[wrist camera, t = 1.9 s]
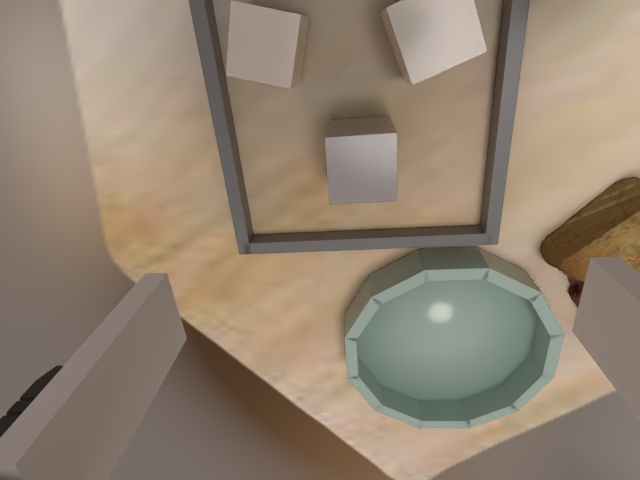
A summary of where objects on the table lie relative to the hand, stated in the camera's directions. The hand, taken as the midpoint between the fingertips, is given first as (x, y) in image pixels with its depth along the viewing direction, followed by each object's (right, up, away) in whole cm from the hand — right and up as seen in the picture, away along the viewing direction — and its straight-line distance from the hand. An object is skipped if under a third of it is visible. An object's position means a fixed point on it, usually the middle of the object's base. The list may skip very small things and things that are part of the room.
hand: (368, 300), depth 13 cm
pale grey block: (+5, +16, +14) cm, 22 cm away
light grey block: (-5, +16, +15) cm, 22 cm away
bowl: (+10, -7, +25) cm, 28 cm away
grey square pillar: (+2, +9, +18) cm, 20 cm away
